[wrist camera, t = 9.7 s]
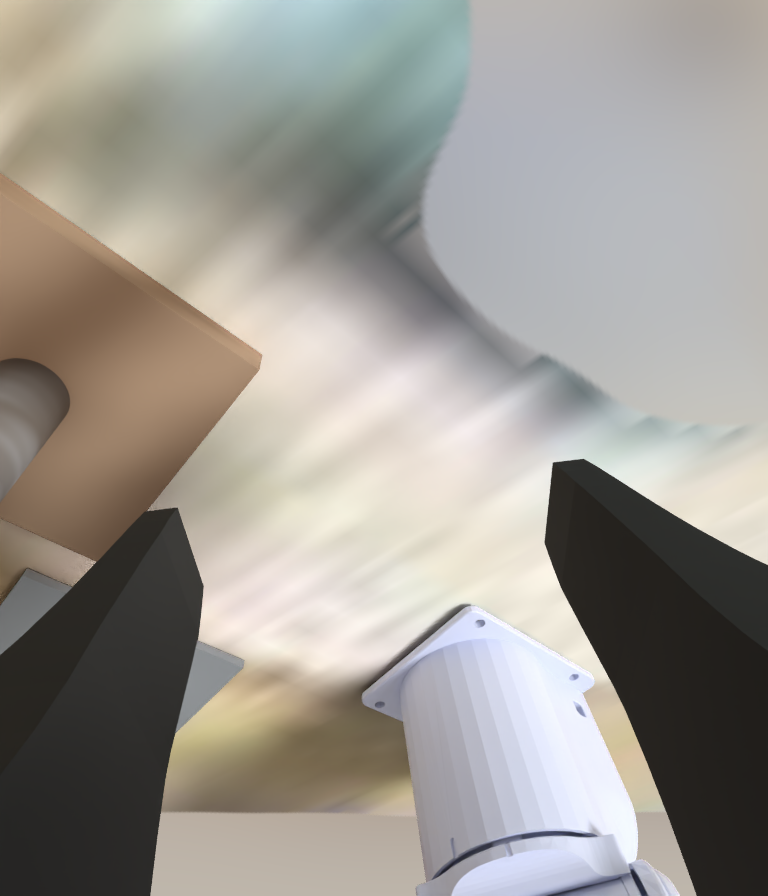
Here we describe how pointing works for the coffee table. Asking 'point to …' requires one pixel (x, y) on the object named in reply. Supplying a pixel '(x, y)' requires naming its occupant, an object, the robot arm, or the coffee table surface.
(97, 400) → the post stand
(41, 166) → the coffee table surface
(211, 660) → the mat
